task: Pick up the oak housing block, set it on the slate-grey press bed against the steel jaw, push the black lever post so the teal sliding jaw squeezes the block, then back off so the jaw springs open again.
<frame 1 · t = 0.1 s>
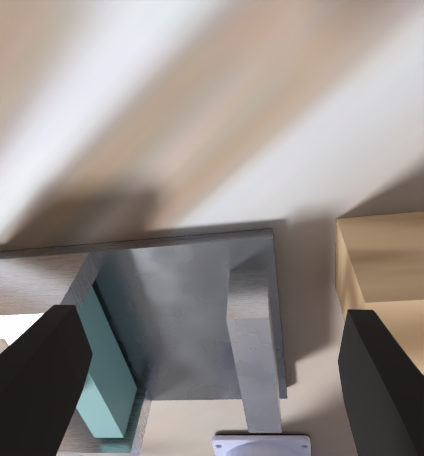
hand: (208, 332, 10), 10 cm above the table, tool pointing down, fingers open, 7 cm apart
ram: (66, 384, 23), point 4 cm above the table, slide at 0.0 cm
housing: (379, 249, 20), on the table
press: (194, 325, 25), on the table
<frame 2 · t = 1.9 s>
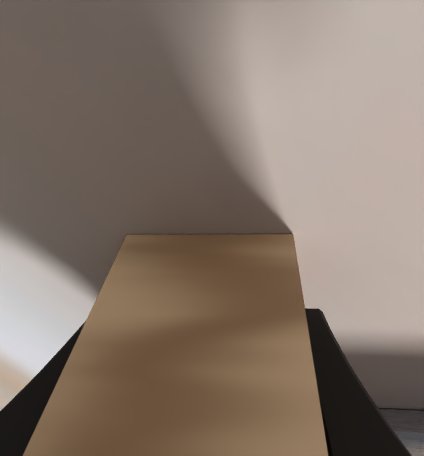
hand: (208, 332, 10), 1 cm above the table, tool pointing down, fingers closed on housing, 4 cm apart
housing: (213, 295, 12), on the table, touching gripper
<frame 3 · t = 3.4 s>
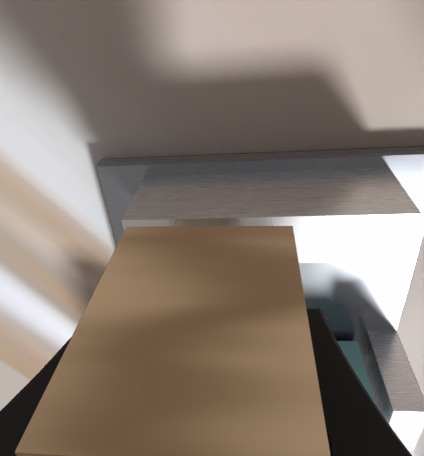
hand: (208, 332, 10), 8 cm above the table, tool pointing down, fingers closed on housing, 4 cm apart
ram: (265, 414, 20), point 4 cm above the table, slide at 0.0 cm
housing: (212, 288, 12), point 7 cm above the table, touching gripper
press: (262, 255, 19), on the table
when the fingers open (4 cm above the table, at t = 5.0 s): housing drops 1 cm, resting on press.
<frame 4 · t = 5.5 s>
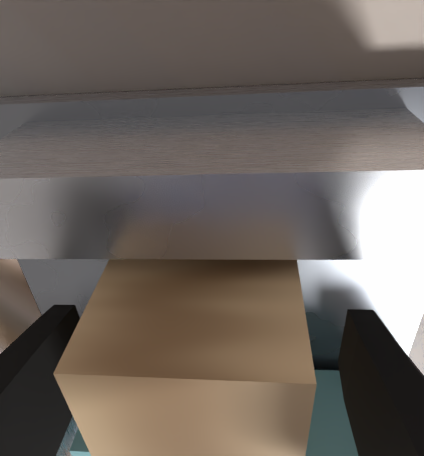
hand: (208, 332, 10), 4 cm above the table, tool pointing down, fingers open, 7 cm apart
housing: (214, 260, 13), point 1 cm above the table, touching press
press: (218, 250, 13), on the table
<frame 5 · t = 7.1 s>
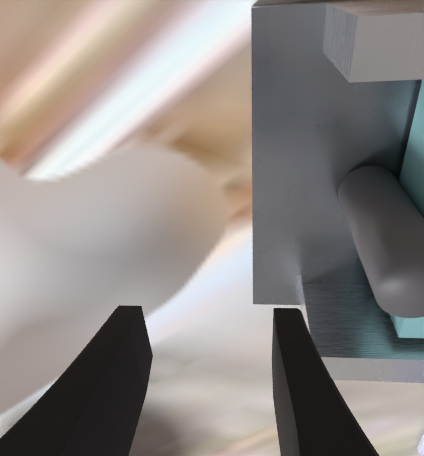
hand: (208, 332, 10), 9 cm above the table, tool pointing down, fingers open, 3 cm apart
ram: (417, 231, 14), point 4 cm above the table, slide at 0.0 cm
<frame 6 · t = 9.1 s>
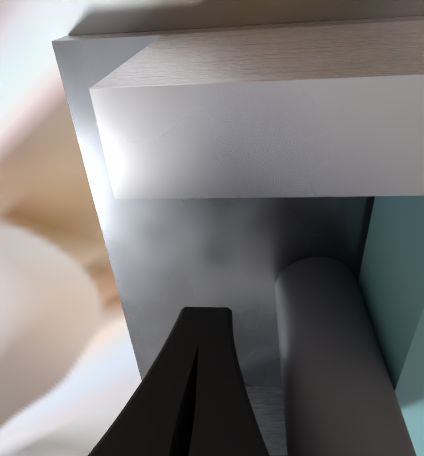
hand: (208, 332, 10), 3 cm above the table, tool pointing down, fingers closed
ram: (377, 377, 9), point 4 cm above the table, slide at 1.5 cm, touching gripper
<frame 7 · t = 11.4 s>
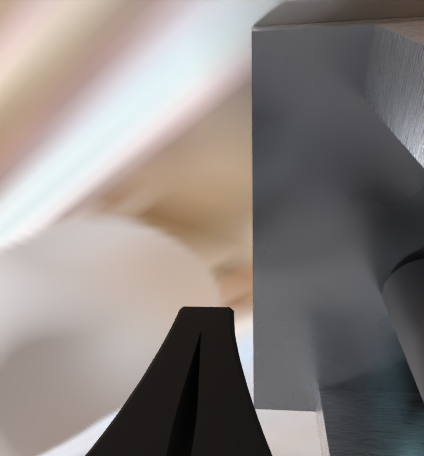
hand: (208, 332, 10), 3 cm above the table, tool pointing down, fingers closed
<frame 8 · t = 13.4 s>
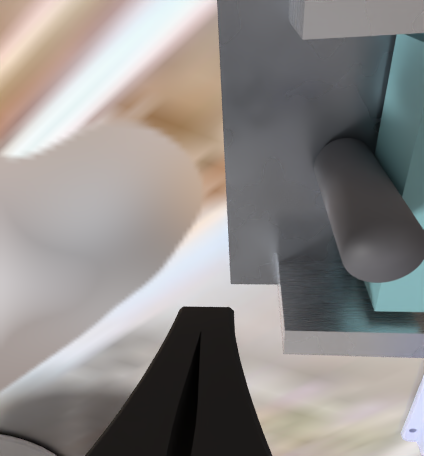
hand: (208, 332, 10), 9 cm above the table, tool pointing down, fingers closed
ram: (389, 200, 14), point 4 cm above the table, slide at 0.2 cm
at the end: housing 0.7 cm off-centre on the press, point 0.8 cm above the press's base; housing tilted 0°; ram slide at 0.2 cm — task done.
